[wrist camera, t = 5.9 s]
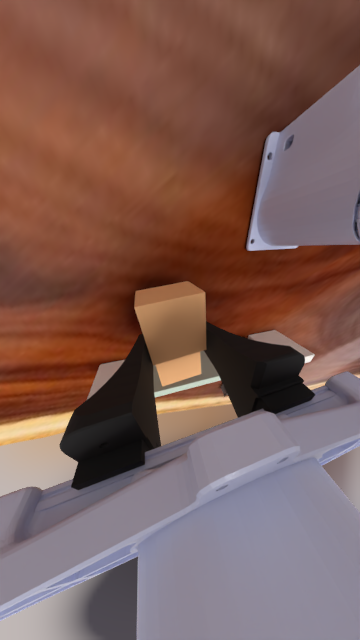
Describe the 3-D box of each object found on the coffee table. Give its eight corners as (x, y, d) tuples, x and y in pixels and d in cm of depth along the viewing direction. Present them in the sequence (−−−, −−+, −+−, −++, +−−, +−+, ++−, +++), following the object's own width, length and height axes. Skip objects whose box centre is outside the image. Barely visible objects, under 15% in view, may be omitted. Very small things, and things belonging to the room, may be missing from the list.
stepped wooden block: (135, 291, 11) (134, 307, 8) (188, 281, 11) (205, 292, 8) (159, 371, 16) (164, 400, 13) (195, 360, 16) (207, 385, 13)
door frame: (99, 364, 20) (81, 415, 14) (275, 329, 26) (314, 354, 20) (103, 371, 20) (86, 422, 14) (272, 336, 26) (310, 361, 21)
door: (132, 360, 20) (129, 397, 15) (247, 337, 24) (275, 360, 19) (135, 368, 21) (132, 407, 16) (245, 345, 25) (270, 370, 20)
